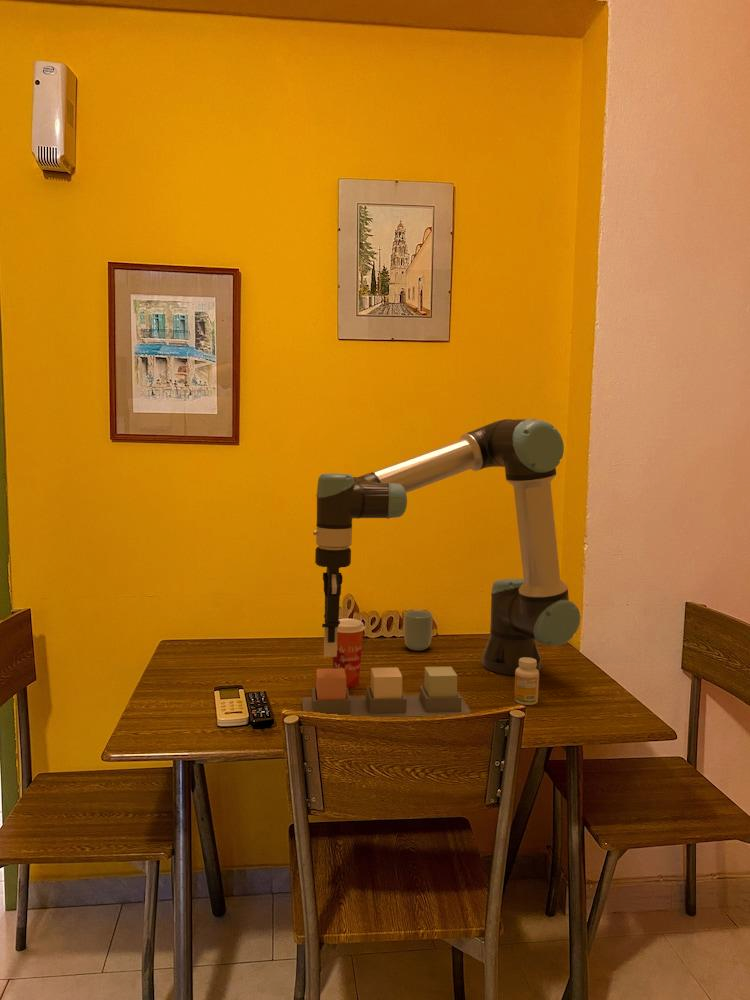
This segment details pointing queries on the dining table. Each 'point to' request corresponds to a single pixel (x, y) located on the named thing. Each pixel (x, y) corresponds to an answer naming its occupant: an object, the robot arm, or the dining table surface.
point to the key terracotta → (331, 684)
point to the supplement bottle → (526, 682)
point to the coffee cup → (349, 649)
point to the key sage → (440, 682)
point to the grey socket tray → (387, 705)
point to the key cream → (386, 683)
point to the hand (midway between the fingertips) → (330, 655)
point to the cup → (418, 629)
